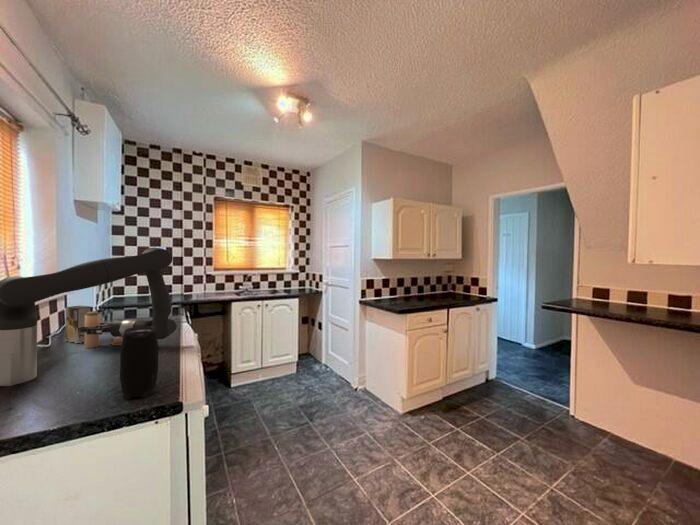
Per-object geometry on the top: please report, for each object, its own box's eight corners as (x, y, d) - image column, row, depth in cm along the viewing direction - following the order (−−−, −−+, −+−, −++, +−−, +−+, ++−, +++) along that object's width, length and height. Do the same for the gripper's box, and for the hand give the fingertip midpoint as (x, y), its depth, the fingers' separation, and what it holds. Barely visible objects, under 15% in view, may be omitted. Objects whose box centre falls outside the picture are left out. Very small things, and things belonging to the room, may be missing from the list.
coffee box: (93, 340, 144) (94, 306, 144) (78, 344, 138) (78, 308, 138) (79, 338, 147) (80, 305, 147) (64, 342, 141) (64, 307, 141)
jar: (93, 348, 133) (94, 313, 132) (81, 348, 132) (81, 313, 132) (102, 345, 138) (103, 311, 138) (90, 344, 138) (91, 311, 137)
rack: (133, 345, 139) (134, 339, 139) (111, 344, 138) (111, 339, 138) (150, 338, 151) (150, 333, 151) (129, 337, 150) (129, 332, 150)
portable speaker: (114, 396, 89) (115, 329, 89) (148, 385, 97) (149, 324, 97) (129, 404, 85) (130, 334, 85) (163, 392, 93) (164, 327, 93)
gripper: (137, 316, 143) (101, 315, 142) (115, 323, 128) (74, 322, 128) (136, 332, 143) (100, 331, 142) (114, 340, 128) (74, 340, 128)
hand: (88, 327), depth 135 cm, fingers open, 8 cm apart
